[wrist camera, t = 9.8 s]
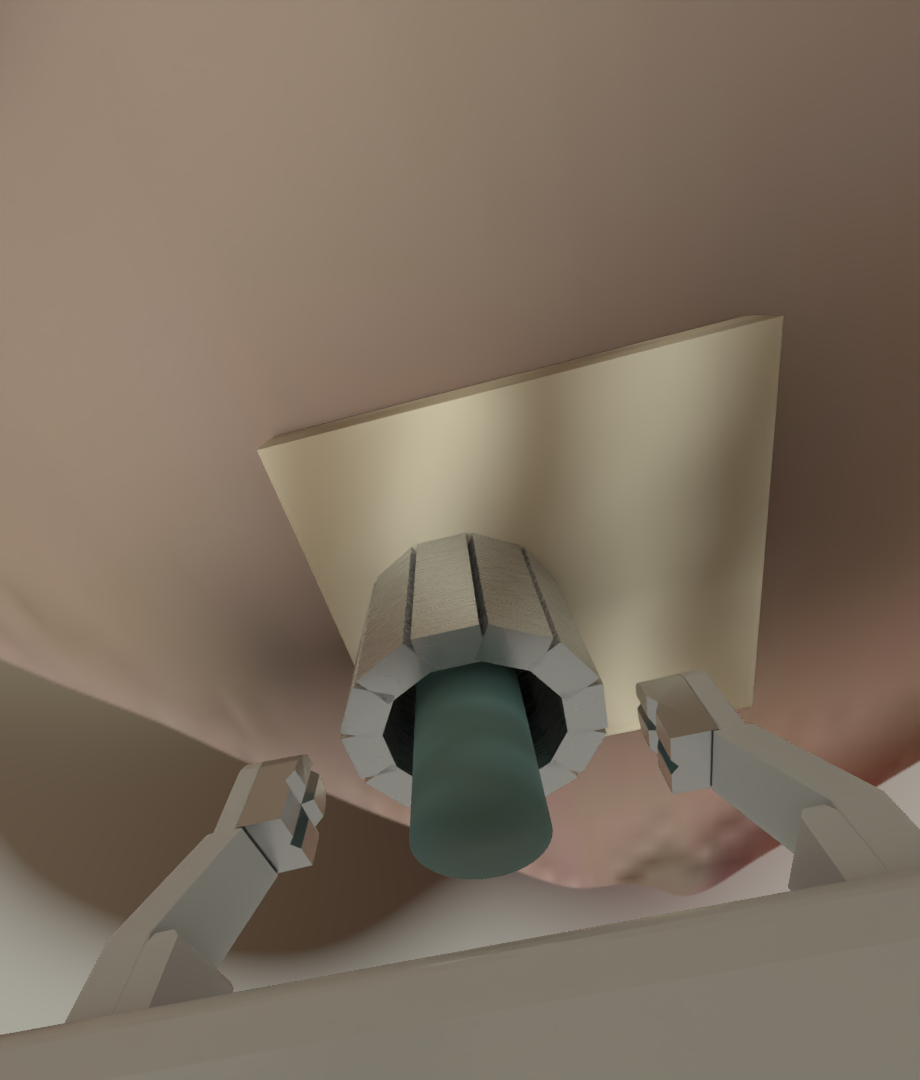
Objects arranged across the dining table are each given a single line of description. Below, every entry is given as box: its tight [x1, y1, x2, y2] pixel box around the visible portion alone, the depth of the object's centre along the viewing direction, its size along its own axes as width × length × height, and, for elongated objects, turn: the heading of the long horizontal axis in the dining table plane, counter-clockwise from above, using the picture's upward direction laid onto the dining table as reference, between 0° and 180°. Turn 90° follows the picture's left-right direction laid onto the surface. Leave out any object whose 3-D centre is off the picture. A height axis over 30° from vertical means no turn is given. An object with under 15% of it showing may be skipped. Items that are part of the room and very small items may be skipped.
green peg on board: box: [257, 315, 784, 879], centre depth 13 cm, size 14×14×8 cm
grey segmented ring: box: [340, 533, 608, 807], centre depth 13 cm, size 6×6×4 cm
